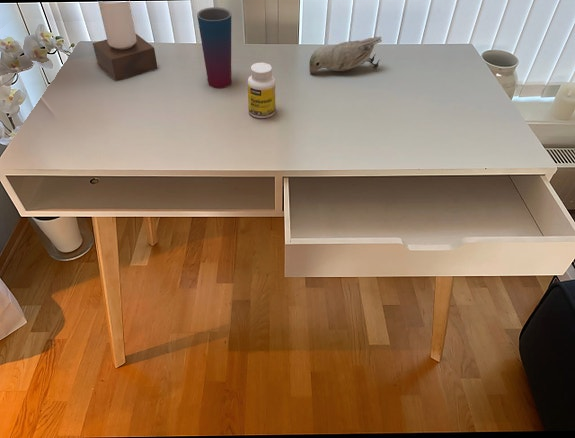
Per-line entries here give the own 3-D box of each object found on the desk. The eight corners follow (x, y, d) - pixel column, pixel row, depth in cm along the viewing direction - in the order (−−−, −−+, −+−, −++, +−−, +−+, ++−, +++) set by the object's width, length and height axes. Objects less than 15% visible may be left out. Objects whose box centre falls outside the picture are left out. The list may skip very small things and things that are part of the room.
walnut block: (116, 81, 111) (111, 59, 108) (97, 64, 117) (92, 43, 114) (157, 68, 116) (154, 47, 113) (138, 52, 122) (134, 32, 118)
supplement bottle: (247, 118, 102) (245, 73, 95) (249, 104, 105) (248, 59, 99) (274, 119, 101) (274, 74, 95) (276, 105, 105) (276, 60, 99)
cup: (202, 89, 109) (194, 20, 99) (206, 74, 114) (199, 6, 104) (234, 90, 109) (229, 21, 99) (236, 75, 114) (232, 7, 104)
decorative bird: (306, 68, 117) (308, 37, 112) (372, 62, 120) (377, 31, 115) (312, 80, 114) (314, 47, 108) (380, 73, 116) (385, 42, 111)
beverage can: (115, 37, 116) (103, -18, 107) (141, 40, 115) (131, -15, 107) (103, 49, 111) (90, -7, 103) (130, 52, 110) (119, -5, 102)
